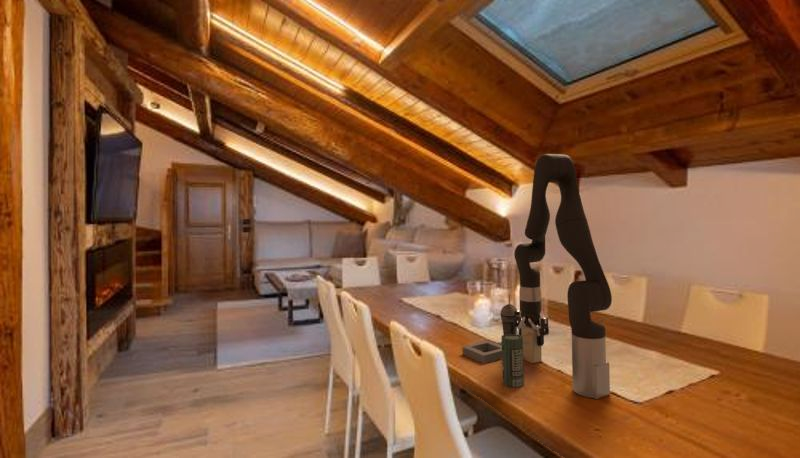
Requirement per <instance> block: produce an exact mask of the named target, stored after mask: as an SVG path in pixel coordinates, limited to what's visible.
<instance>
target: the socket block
mask: <svg viewBox="0 0 800 458" xmlns="http://www.w3.org/2000/svg"><path fill="white" fill-rule="evenodd" d="M462 355H464V356H465V357H467V358H470V359H472V360H474V361H477V362H478V363H481V364H482V365H485V364H488V363H492V362H497V361H499V360H502V344H499V343H498V342H497V343H496V342H495V341H494V342H493V341H491V340H484V341H480V342H476V343H473V344H467V345H464V346H462Z"/></svg>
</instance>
